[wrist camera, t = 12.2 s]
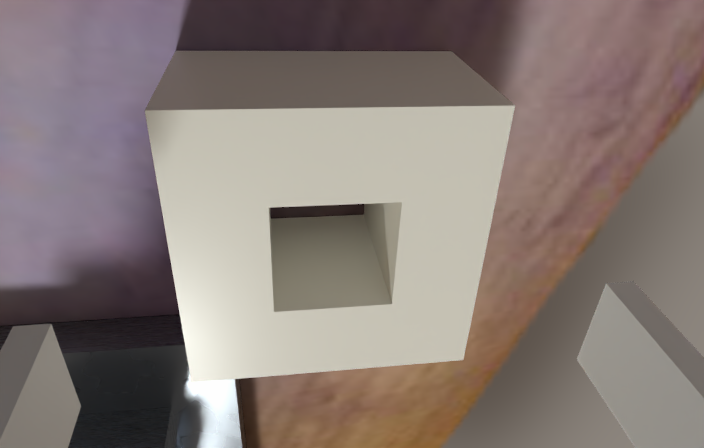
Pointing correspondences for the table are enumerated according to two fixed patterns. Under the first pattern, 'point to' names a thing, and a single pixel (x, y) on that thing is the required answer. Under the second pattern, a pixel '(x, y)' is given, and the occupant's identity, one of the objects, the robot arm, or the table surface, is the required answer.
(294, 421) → the table surface
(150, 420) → the vise
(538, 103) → the table surface
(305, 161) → the collar
